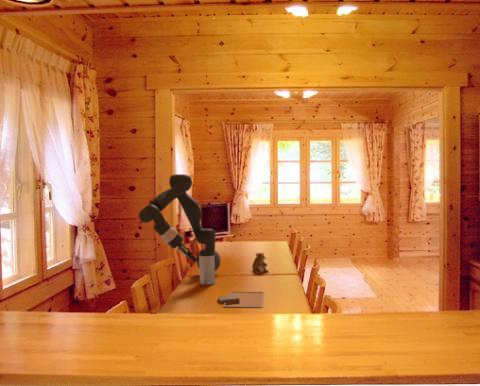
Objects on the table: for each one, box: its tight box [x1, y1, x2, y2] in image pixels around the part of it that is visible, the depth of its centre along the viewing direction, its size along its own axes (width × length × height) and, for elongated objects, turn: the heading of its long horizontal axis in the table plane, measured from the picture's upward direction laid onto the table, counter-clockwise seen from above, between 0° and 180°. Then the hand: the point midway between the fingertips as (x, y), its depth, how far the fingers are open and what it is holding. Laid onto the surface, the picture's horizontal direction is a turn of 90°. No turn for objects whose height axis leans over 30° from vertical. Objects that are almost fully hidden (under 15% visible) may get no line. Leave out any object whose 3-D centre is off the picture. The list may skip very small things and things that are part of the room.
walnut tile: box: [217, 295, 240, 305], centre depth 218 cm, size 2×6×10 cm
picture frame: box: [222, 291, 265, 309], centre depth 220 cm, size 19×1×28 cm
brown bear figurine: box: [251, 252, 269, 275], centre depth 287 cm, size 10×14×13 cm
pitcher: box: [191, 233, 221, 272], centre depth 281 cm, size 11×19×30 cm, turn 80°
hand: (195, 261), depth 215 cm, fingers closed
